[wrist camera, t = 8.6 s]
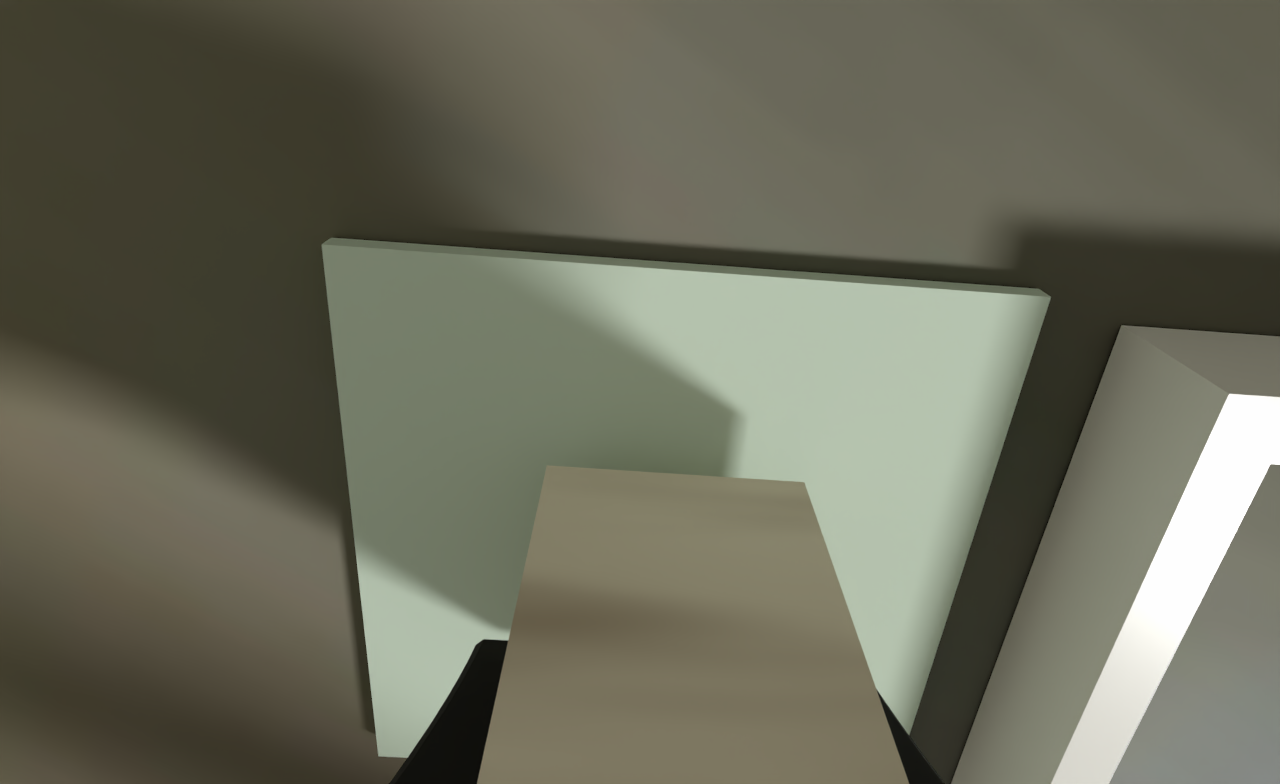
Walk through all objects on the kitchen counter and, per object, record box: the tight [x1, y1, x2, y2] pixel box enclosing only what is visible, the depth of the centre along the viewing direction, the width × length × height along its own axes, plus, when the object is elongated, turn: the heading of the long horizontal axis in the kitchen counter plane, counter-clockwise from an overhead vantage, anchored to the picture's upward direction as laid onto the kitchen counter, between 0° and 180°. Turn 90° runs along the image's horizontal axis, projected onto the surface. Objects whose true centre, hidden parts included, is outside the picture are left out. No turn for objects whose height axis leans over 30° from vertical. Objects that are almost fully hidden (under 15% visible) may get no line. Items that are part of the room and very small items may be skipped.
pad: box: [321, 238, 1051, 758], centre depth 14 cm, size 11×11×1 cm
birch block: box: [477, 465, 909, 784], centre depth 10 cm, size 5×4×6 cm
